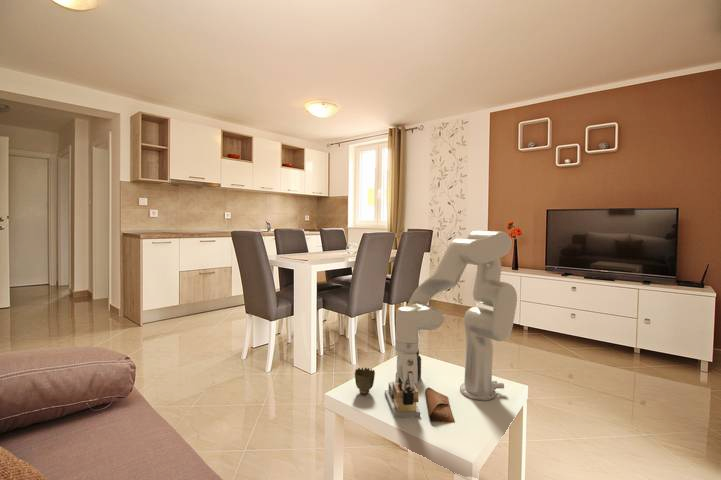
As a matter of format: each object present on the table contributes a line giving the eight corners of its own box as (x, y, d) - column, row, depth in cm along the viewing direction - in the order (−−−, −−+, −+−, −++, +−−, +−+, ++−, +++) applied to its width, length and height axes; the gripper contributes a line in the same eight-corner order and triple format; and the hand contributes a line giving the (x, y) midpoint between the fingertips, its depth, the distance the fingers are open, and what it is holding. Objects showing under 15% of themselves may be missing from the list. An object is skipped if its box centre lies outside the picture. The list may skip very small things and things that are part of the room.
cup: (372, 399, 126) (373, 376, 125) (352, 396, 127) (352, 374, 127) (375, 389, 133) (376, 368, 133) (356, 387, 134) (357, 366, 134)
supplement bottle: (408, 373, 148) (409, 344, 148) (423, 377, 144) (424, 348, 144) (400, 378, 143) (401, 349, 142) (415, 383, 139) (416, 353, 138)
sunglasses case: (457, 423, 111) (446, 404, 111) (437, 433, 112) (426, 414, 112) (448, 396, 129) (439, 380, 129) (430, 404, 130) (421, 388, 130)
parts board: (407, 393, 130) (407, 389, 130) (420, 416, 115) (420, 412, 115) (384, 394, 129) (384, 390, 129) (394, 417, 114) (394, 413, 113)
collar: (412, 392, 121) (412, 382, 121) (418, 402, 114) (418, 391, 114) (392, 392, 120) (392, 382, 120) (397, 403, 113) (397, 392, 113)
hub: (411, 402, 121) (411, 378, 120) (416, 411, 115) (416, 386, 115) (393, 402, 120) (394, 379, 120) (398, 412, 114) (398, 387, 114)
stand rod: (404, 390, 130) (405, 367, 129) (408, 398, 124) (409, 374, 123) (388, 390, 129) (389, 368, 129) (391, 398, 123) (392, 375, 123)
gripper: (425, 354, 108) (424, 411, 109) (410, 336, 126) (409, 386, 126) (401, 355, 108) (400, 412, 108) (389, 337, 125) (388, 387, 125)
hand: (405, 398), depth 117 cm, fingers closed on collar, 7 cm apart
